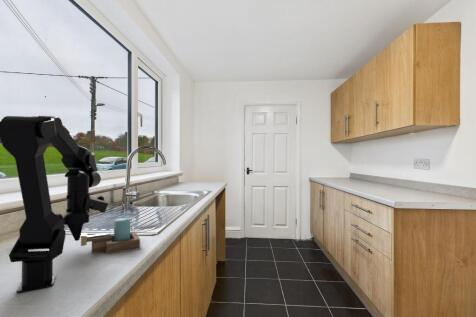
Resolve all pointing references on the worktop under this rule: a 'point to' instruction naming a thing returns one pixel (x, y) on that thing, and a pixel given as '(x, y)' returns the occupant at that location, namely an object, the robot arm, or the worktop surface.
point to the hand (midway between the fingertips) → (77, 240)
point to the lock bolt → (89, 238)
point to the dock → (115, 244)
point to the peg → (121, 229)
